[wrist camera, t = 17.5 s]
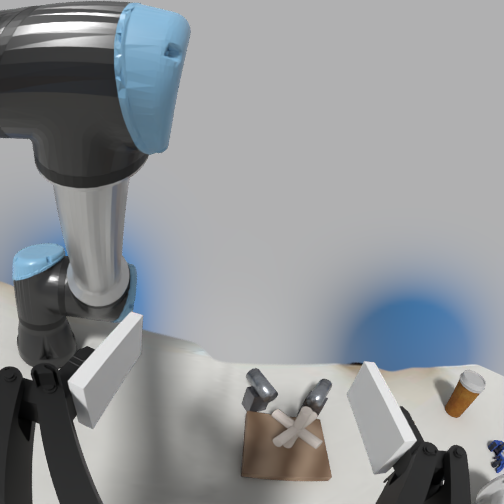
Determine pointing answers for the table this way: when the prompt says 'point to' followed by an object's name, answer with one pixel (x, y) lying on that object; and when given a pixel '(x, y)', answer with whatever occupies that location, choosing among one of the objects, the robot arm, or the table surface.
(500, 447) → the bar clamp
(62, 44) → the robot arm
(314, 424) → the mounting pad
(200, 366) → the table surface
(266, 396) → the grey capsule on block
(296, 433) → the pipe connector
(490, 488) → the valve
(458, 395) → the disposable coffee cup
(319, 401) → the dark grey piece
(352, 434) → the table surface
